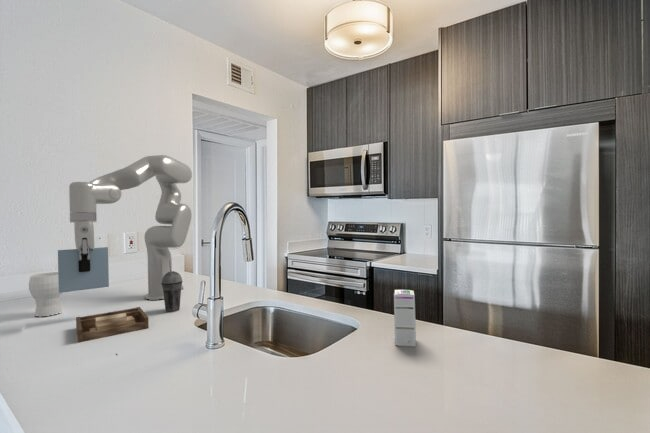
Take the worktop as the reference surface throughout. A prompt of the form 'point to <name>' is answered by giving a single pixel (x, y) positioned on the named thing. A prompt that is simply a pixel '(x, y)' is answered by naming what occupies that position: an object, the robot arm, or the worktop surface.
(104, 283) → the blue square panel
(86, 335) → the rack
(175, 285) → the beverage cup
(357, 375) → the worktop surface
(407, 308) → the syrup box
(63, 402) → the worktop surface
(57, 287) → the cup
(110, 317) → the offcut top
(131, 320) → the offcut middle
